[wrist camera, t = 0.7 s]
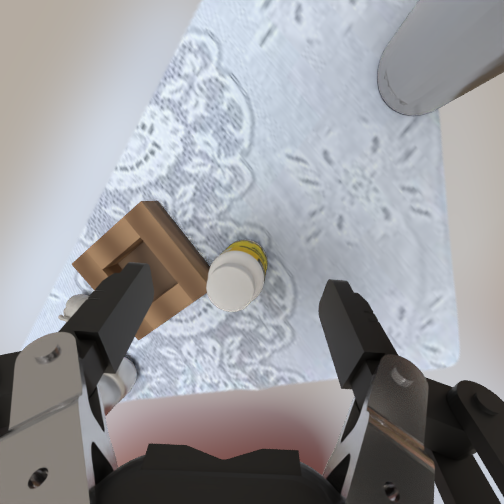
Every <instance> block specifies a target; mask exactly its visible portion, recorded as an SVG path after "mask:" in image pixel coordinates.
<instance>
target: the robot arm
mask: <svg viewBox="0 0 504 504" xmlns="http://www.w3.org/2000/svg"><path fill="white" fill-rule="evenodd" d="M503 72H504V0H419V1H418V3H417V4H416V5H415V7H414V8H413V10H412V11H411V12H410V14H409V15H408V16H407V18H406V19H405V21H404V22H403V23H402V25H401V26H400V28H399V29H398V31H397V32H396V33H395V35H394V36H393V38H392V39H391V40H390V42H389V43H388V45H387V47H386V48H385V50H384V52H383V54H382V57H381V60H380V62H379V68H378V86H379V91H380V93H381V95H382V97H383V99H384V101H385V102H386V103H387V104H388V106H390V107H391V108H392V109H393V110H395V111H397V112H399V113H401V114H405V115H411V116H413V115H423V114H426V113H430V112H432V111H434V110H436V109H438V108H440V107H442V106H443V105H446V104H447V103H449V102H451V101H453V100H454V99H456V98H458V97H460V96H462V95H464V94H465V93H467V92H469V91H471V90H473V89H474V88H476V87H478V86H479V85H481V84H483V83H485V82H487V81H489V80H490V79H492V78H494V77H496V76H497V75H499V74H501V73H503ZM153 298H154V287H153V281H152V276H151V270H150V266H149V264H147V263H135V262H129V263H127V264H126V266H125V267H124V268H123V269H122V271H121V272H120V273H114V274H112V275H110V276H109V277H107V278H106V279H104V280H103V281H102V282H101V283H100V284H99V285H98V287H97V288H96V289H95V291H93V292H92V294H91V295H90V296H89V297H88V300H87V299H86V300H85V302H84V303H83V304H82V305H81V306H80V307H79V309H78V310H77V311H76V312H75V313H74V314H73V316H72V317H71V318H70V319H69V320H68V321H67V323H66V324H65V325H64V326H63V327H62V328H61V329H60V331H59V332H56V333H51V334H48V335H45V336H43V337H40V338H38V339H37V340H35V341H33V342H32V343H30V344H29V345H28V346H27V347H25V348H24V349H23V350H22V351H19V352H14V353H9V354H4V355H0V504H434V481H435V484H436V486H437V488H438V491H439V493H440V495H441V497H442V500H443V502H444V504H501V503H500V501H499V499H498V498H497V496H496V494H495V493H494V491H493V489H492V487H491V486H490V484H489V482H488V481H487V479H486V477H485V475H484V474H483V472H482V470H481V468H480V467H479V465H478V463H477V462H476V460H475V458H474V457H473V455H472V454H474V453H476V452H477V453H478V455H479V456H480V458H481V460H482V461H483V463H484V465H485V466H486V468H487V470H488V471H489V473H490V475H491V476H492V478H493V480H494V481H495V483H496V485H497V486H498V488H499V490H500V492H501V493H502V494H503V497H504V402H503V401H502V400H501V399H500V398H499V397H498V396H497V395H496V394H494V393H493V392H491V391H490V390H488V389H487V388H486V387H484V386H482V385H480V384H478V383H475V382H472V381H467V380H464V381H460V382H459V383H458V384H456V385H455V387H450V386H448V385H445V384H442V383H439V382H436V381H434V380H431V379H428V378H426V377H424V375H423V373H422V372H421V371H420V370H419V369H418V368H417V367H416V366H415V365H414V364H413V363H411V362H410V361H408V360H407V359H405V358H403V357H401V356H398V354H397V352H396V351H395V349H394V347H393V345H392V344H391V342H390V340H389V339H388V337H387V335H386V333H385V332H384V330H383V328H382V326H381V325H380V323H379V322H378V319H377V318H376V316H375V314H373V311H372V309H371V307H370V306H369V304H368V302H367V301H366V300H365V299H364V298H363V297H362V296H361V295H360V294H358V293H354V292H353V290H352V288H351V286H350V285H349V283H348V282H347V281H343V280H331V279H330V280H328V282H327V284H326V287H325V289H324V292H323V295H322V297H321V300H320V303H319V318H320V321H321V324H322V327H323V331H324V334H325V337H326V340H327V344H328V347H329V350H330V353H331V357H332V360H333V363H334V366H335V370H336V373H337V376H338V379H339V382H340V386H341V388H342V389H352V390H353V393H354V396H355V397H354V398H353V400H352V403H351V405H350V408H349V411H348V414H347V417H346V420H345V422H344V425H343V428H342V431H341V433H340V436H339V439H338V442H337V444H336V447H335V449H334V451H333V453H332V455H331V457H330V459H329V461H328V463H327V465H326V468H325V470H324V473H323V475H321V474H319V473H318V472H317V471H315V470H314V469H313V468H311V467H309V466H308V465H306V464H304V463H302V462H300V460H299V453H298V450H278V449H260V450H257V451H253V452H250V453H247V454H243V455H240V456H237V457H234V458H230V459H226V460H222V459H219V458H216V457H214V456H211V455H209V454H207V453H204V452H202V451H199V450H197V449H194V448H192V447H190V446H187V445H170V444H149V445H148V448H147V451H146V455H143V456H140V457H138V458H135V459H133V460H131V461H129V462H127V463H125V464H124V465H122V466H120V467H119V468H118V465H117V461H116V457H115V453H114V450H113V447H112V444H111V441H110V438H109V434H108V429H107V424H106V418H105V413H104V408H103V403H102V397H101V392H100V387H99V384H98V382H99V381H100V379H101V377H102V375H103V373H109V374H116V372H117V370H118V368H119V366H120V364H121V362H122V360H123V358H124V356H125V354H126V352H127V351H128V349H129V347H130V345H131V343H132V341H133V339H134V337H135V335H136V333H137V331H138V329H139V327H140V325H141V323H142V321H143V319H144V318H145V316H146V314H147V312H148V310H149V308H150V306H151V304H152V301H153Z"/></svg>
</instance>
